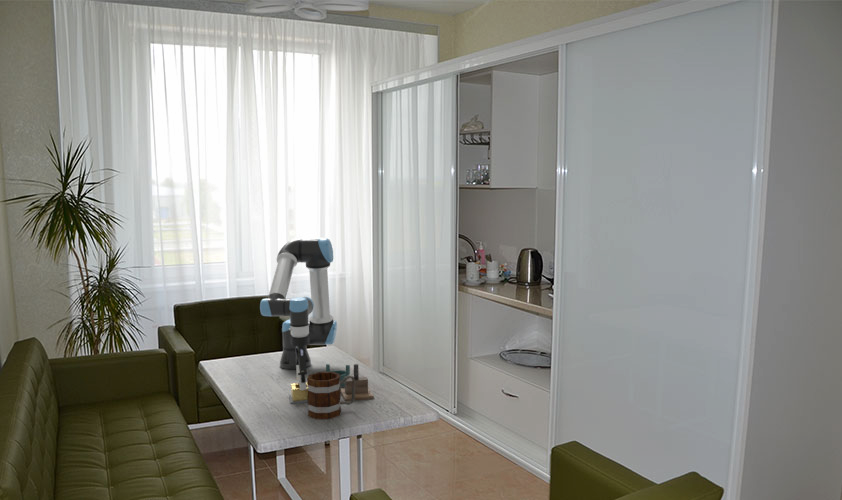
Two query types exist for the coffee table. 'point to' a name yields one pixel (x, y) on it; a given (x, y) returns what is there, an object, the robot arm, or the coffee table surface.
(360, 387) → the post stand
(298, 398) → the hollow wooden square frame
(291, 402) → the felt mat
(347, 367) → the bracket
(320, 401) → the mug
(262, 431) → the coffee table surface
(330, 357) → the coffee table surface
